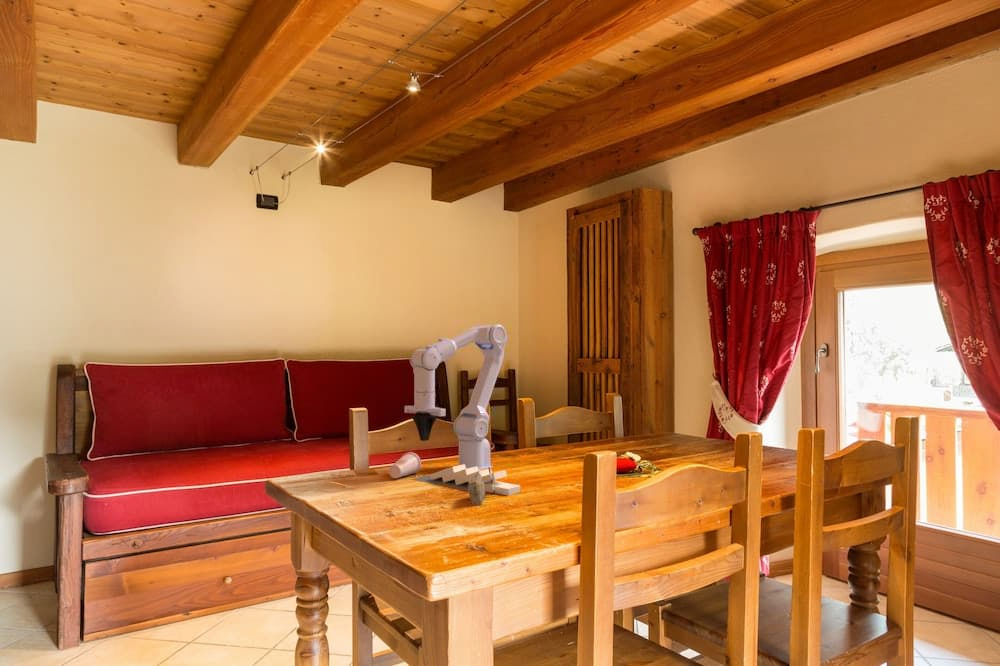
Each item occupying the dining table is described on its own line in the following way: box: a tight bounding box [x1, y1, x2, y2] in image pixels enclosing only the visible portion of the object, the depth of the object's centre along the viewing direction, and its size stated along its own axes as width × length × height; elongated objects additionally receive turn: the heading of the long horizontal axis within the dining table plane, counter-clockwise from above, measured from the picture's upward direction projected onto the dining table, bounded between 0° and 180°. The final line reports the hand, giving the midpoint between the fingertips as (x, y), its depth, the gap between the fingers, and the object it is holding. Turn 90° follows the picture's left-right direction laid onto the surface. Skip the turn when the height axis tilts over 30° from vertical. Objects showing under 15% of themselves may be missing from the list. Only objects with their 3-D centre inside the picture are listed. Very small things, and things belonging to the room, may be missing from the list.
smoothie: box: [388, 451, 422, 479], centre depth 180 cm, size 6×6×14 cm
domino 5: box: [484, 480, 521, 497], centre depth 160 cm, size 2×5×9 cm
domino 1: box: [429, 464, 466, 480], centre depth 172 cm, size 2×5×9 cm
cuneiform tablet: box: [467, 467, 496, 506], centre depth 152 cm, size 7×4×12 cm
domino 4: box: [469, 469, 508, 483], centre depth 163 cm, size 2×5×9 cm
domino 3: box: [455, 468, 493, 485], centre depth 166 cm, size 2×5×9 cm
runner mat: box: [411, 474, 489, 494], centre depth 170 cm, size 10×26×1 cm, turn 50°
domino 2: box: [442, 466, 480, 483], centre depth 169 cm, size 2×5×9 cm
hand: (424, 440), depth 178 cm, fingers closed
